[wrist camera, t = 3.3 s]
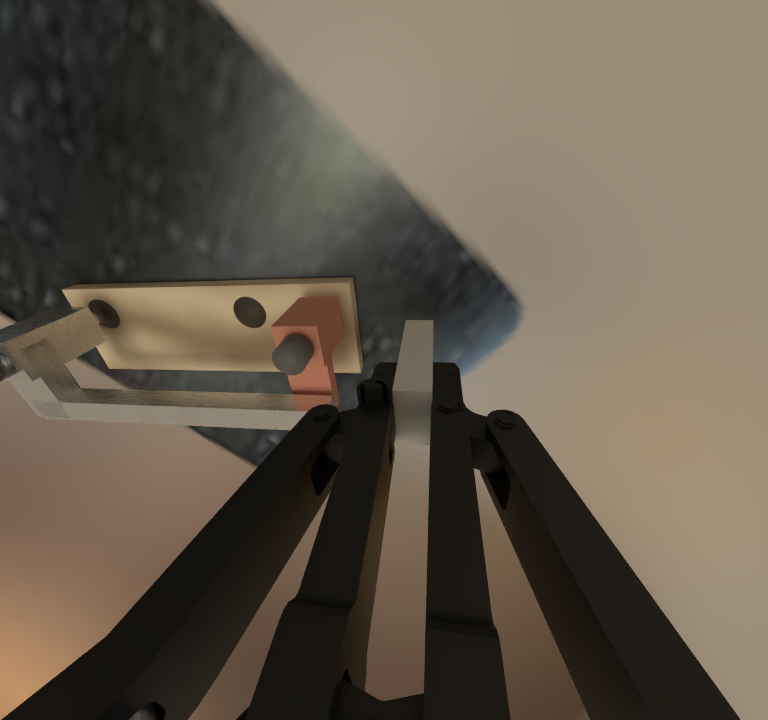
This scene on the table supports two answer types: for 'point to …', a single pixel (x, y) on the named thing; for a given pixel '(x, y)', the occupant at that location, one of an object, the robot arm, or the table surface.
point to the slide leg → (309, 345)
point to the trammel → (71, 402)
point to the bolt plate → (210, 322)
